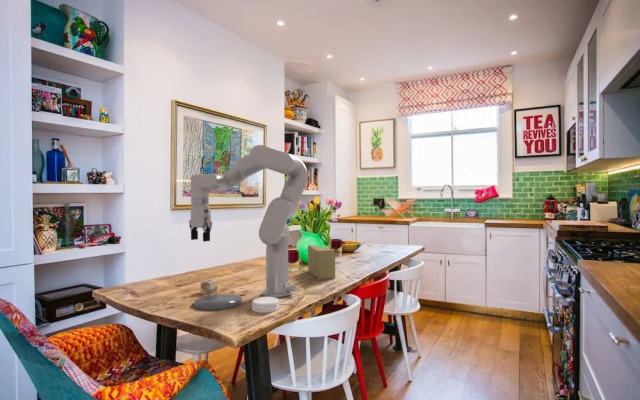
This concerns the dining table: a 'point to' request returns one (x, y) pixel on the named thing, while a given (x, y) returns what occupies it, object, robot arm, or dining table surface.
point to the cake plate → (217, 302)
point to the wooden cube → (208, 286)
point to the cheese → (321, 262)
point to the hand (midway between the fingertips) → (200, 240)
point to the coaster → (265, 304)
